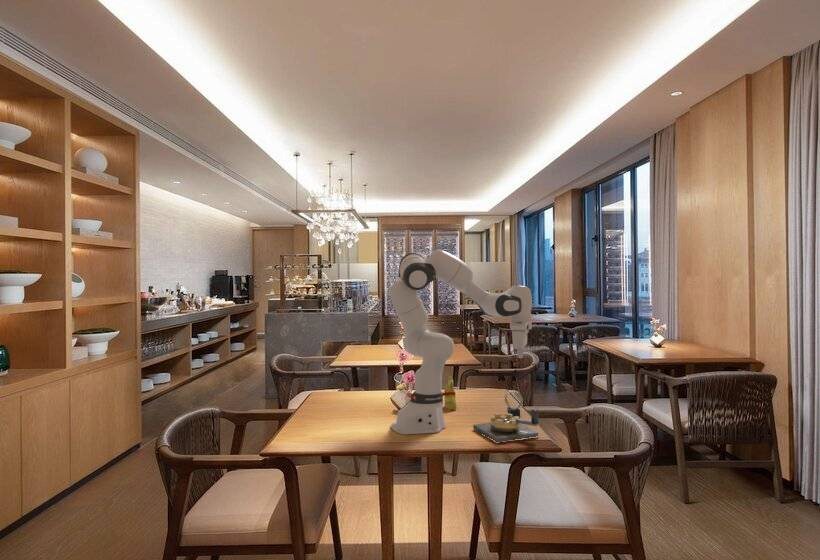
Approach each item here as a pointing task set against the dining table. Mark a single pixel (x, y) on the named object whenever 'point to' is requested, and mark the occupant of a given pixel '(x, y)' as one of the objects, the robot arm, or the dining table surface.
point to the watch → (514, 410)
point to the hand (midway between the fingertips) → (520, 357)
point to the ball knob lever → (512, 421)
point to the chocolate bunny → (450, 395)
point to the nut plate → (504, 436)
